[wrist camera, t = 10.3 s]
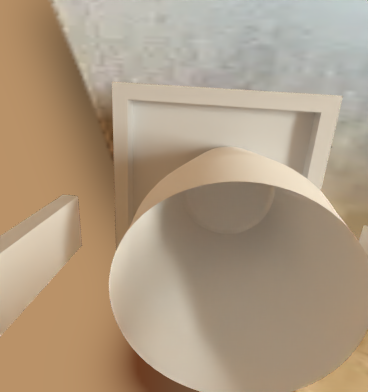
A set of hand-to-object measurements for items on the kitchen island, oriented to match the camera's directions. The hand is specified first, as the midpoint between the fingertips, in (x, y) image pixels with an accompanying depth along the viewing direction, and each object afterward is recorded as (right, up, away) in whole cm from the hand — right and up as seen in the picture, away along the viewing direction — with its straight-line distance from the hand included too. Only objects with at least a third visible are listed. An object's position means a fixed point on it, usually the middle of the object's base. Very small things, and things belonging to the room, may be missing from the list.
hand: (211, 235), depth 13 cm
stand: (+2, +5, +15) cm, 16 cm away
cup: (+2, +2, +8) cm, 8 cm away
